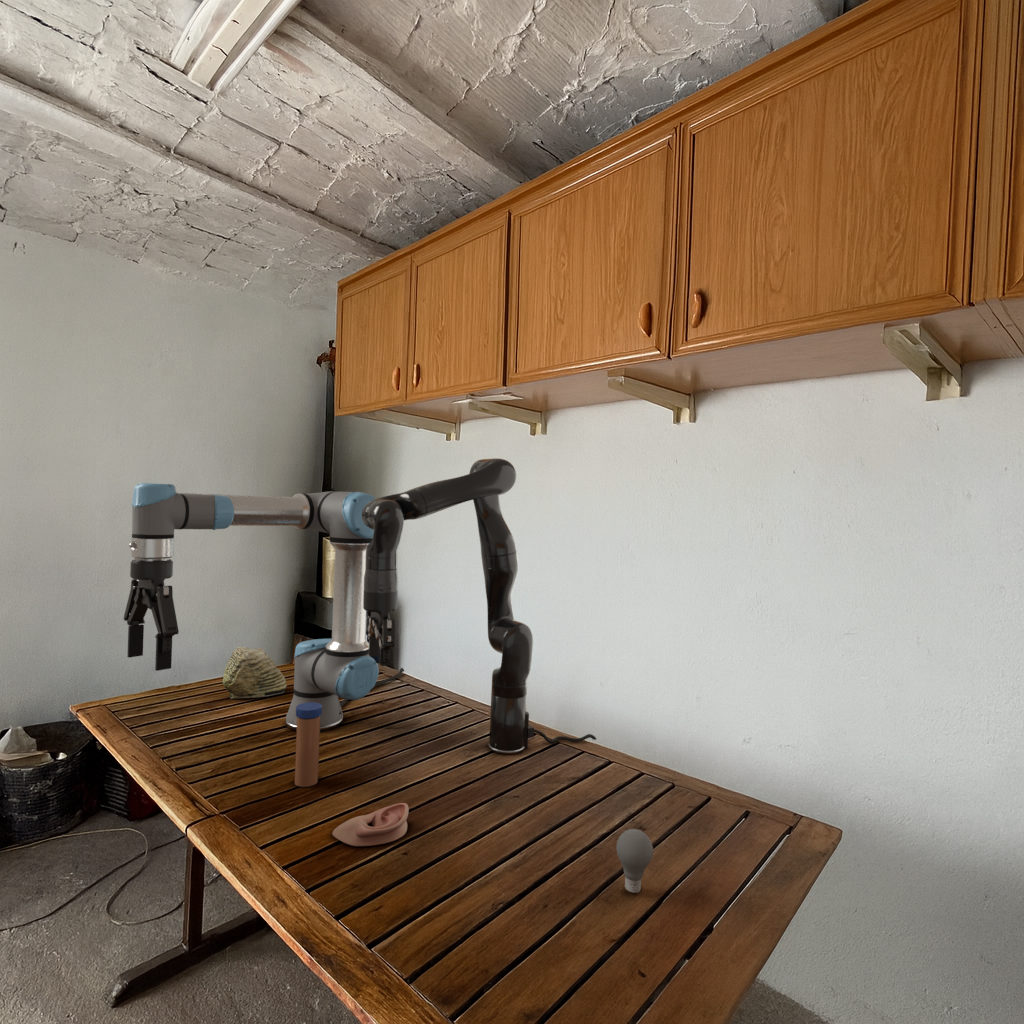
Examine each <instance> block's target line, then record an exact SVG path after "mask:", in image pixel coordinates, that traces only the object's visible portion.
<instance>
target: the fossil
mask: <svg viewBox="0 0 1024 1024" xmlns="http://www.w3.org/2000/svg"><path fill="white" fill-rule="evenodd" d="M222 676H223V677H222V685H223V687H224V688H225V690H226V691H228V693H229V698H230V699H250V698H264V697H271V696H275V695H281V694H284V693H285V691H286V689H287V687H288V686H287V680H286V678H285V676H284V674H283V673H282V672H281V669H279V668H278V667H277V665H276V663H275V662H274V660H273V659H272V658H271V657H270V656H269V655H268V654H267V653H266V652H265V650H264V649H263V648H260V647H258V648H251V647H247V646H246V647H245V646H238V647H237V648H236V649H235V650H233V651H232V653H231V656H230V657H229V659H228V660H227V663H226V666H225V668H224V671H223V675H222Z"/></svg>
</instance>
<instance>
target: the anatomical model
mask: <svg viewBox="0 0 1024 1024" xmlns="http://www.w3.org/2000/svg"><path fill="white" fill-rule="evenodd" d="M409 810H410V809H409V805H408V803H406V802H399V803H395V804H391V805H387V806H384V807H382V808H380V809H377V810H375V811H373V812H370V813H368V814H365V815H359V816H355V817H352V818H350V819H347V820H346V821H343V822H342V823H340V824H339V825H338V826H336V828H334V829H333V830H332V836H333V837H334V838H335V839H336V840H338V841H341V842H342V843H344V844H346V845H349V846H352V847H369V846H379V845H383V844H387V843H391V842H394V841H396V840H399V839H400V838H402V837H404V835H406V833H407V831H408V822H407V820H408V817H409Z"/></svg>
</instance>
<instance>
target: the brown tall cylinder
mask: <svg viewBox="0 0 1024 1024" xmlns="http://www.w3.org/2000/svg"><path fill="white" fill-rule="evenodd" d="M320 737H321V731H320V716H319V717H316V718H312V719H301V718H298V717H297V731H296V733H295V739H296V740H295V758H294V759H295V761H294V785H295V786H296V787H301V788H306V787H308V788H309V787H312V786H314V785H316V784H317V783H318V782H319V766H320V765H319V763H320Z"/></svg>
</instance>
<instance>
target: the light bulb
mask: <svg viewBox="0 0 1024 1024" xmlns="http://www.w3.org/2000/svg"><path fill="white" fill-rule="evenodd" d="M615 849H616V854H617V857H618V859H619V861H620V863H621V865H622V867H623V873H624V874H623V875H624V876H625V878H624V888H625V890H627V891H628V892H630V893H634V894H635V893H639V892H640V891H641V889H642V887H641V886H642V879H643V877H644V875H645V871H646V868H647V867H648V866H649V864H650V863H651V861H652V859H653V855H654V847H653V843H652V841H651V838H649V836H648V835H647V834H646V833H645V832H643V831H642V830H641V829H636V828H629V829H627V830H625V831H623V832H622V833H621V834H620V835H619V837H618V839H617V841H616V847H615Z"/></svg>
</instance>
